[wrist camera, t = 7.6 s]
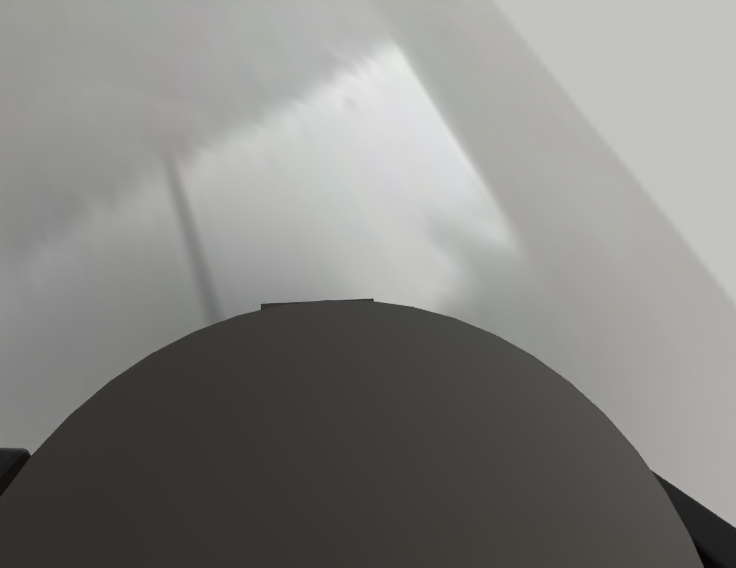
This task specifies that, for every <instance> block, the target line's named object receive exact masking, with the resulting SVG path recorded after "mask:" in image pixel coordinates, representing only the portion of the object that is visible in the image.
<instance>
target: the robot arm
mask: <svg viewBox="0 0 736 568" xmlns="http://www.w3.org/2000/svg"><path fill="white" fill-rule="evenodd" d="M30 457H31V455H30V453H29V451H28V450H26V449H23V448H0V497H1V496H2V494H3V493H4V492H5V490H6V489H7V488H8V486H9V485H10V484H11V482H12V481H13V480H14V478H15V477H16V476H17V474H18V473H19V472H20V470H21V469H22V468H23V466H24V465H25V464H26V462H27V461H28V460H29V458H30ZM652 473H653V474H654V476H655V477H656V479H657V480H658V481H659V483H660V484H661V486H662V487H663V489H664V490H665V491H666V493H667V495H668V497H669V499H670V500H671V502H672V504H673V506H674V508H675V509H676V511H677V513H678V515H679V517H680V518H681V520H682V522H683V524H684V526H685V527H686V529H687V531H688V533H689V535H690V536H691V538H692V541H693V543H694V546H695V548H696V550H697V553H698V555H699V557H700V560H701V562H702V564H703V567H704V568H736V528H735V527H733V526H732V525H730V524H729V523H728V522H726V521H725V520H723V519H722V518H720V517H719V516H717V515H716V514H714V513H713V512H711V511H710V510H709V509H707V508H706V507H704V506H703V505H701V504H700V503H698V502H697V501H695V500H694V499H692V498H691V497H689V496H688V495H687V494H685V493H684V492H682V491H681V490H679V489H678V488H676V487H675V486H673V485H672V484H670V483H669V482H668V481H666V480H665V479H663V478H662V477H660V476H659V475H657V474H656V473H654V472H653V471H652Z"/></svg>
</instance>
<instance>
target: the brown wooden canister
mask: <svg viewBox="0 0 736 568" xmlns="http://www.w3.org/2000/svg"><path fill="white" fill-rule="evenodd" d="M0 568H704V567H703V564H702V562H701V560H700V557H699V555H698V553H697V550H696V548H695V546H694V543H693V541H692V538H691V536H690V535H689V533H688V531H687V529H686V527H685V526H684V524H683V522H682V520H681V518H680V517H679V515H678V513H677V511H676V509H675V508H674V506H673V504H672V502H671V500H670V499H669V497H668V495H667V493H666V491H665V490H664V489H663V487H662V486H661V484H660V483H659V481H658V480H657V479H656V477H655V476H654V474H653V473H652V471H651V470H650V469H649V467H648V466H647V464H646V463H645V461H644V460H643V459H642V457H641V456H640V454H639V453H638V452H637V450H636V449H635V448H634V447H633V446H632V444H631V443H630V442H629V441H628V440H627V439H626V438H625V436H624V435H623V434H622V433H621V432H620V431H619V430H618V429H617V427H616V426H615V425H614V424H613V423H612V422H611V421H610V419H609V418H608V417H607V416H606V415H605V414H604V413H603V412H602V411H601V410H600V409H599V408H598V407H597V406H595V405H594V404H593V403H592V402H591V401H590V400H589V399H588V398H587V397H585V396H584V395H583V394H582V393H581V392H580V391H579V390H578V389H577V388H576V387H574V386H573V385H572V384H571V383H570V382H569V381H567V380H566V379H565V378H563V377H562V376H560V375H559V374H558V373H556V372H555V371H553V370H552V369H551V368H549V367H548V366H546V365H545V364H544V363H542V362H541V361H539V360H538V359H537V358H535V357H534V356H532V355H531V354H529V353H527V352H525V351H523V350H522V349H520V348H518V347H516V346H514V345H512V344H511V343H509V342H507V341H505V340H503V339H502V338H500V337H498V336H496V335H494V334H492V333H489V332H487V331H485V330H482V329H480V328H477V327H475V326H472V325H470V324H467V323H465V322H462V321H460V320H457V319H455V318H452V317H448V316H444V315H441V314H437V313H433V312H429V311H426V310H422V309H418V308H415V307H409V306H402V305H395V304H388V303H381V302H374V300H373V299H356V300H324V301H313V302H292V303H270V304H261V310H259V311H255V312H251V313H247V314H243V315H238V316H236V317H233V318H230V319H228V320H225V321H222V322H219V323H217V324H214V325H211V326H209V327H206V328H203V329H200V330H198V331H195V332H193V333H191V334H189V335H187V336H185V337H183V338H181V339H179V340H177V341H175V342H173V343H171V344H169V345H167V346H166V347H164V348H162V349H160V350H158V351H156V352H154V353H152V354H150V355H149V356H147V357H146V358H144V359H143V360H141V361H140V362H138V363H137V364H135V365H134V366H132V367H131V368H129V369H128V370H126V371H125V372H123V373H122V374H120V375H119V376H117V377H116V378H114V379H113V380H111V381H110V382H109V383H107V384H106V385H105V386H104V387H103V388H102V389H100V390H99V391H98V392H97V393H96V394H94V395H93V396H92V397H91V398H90V399H89V400H87V401H86V402H85V403H84V404H83V405H81V406H80V407H79V408H78V409H77V410H76V411H74V412H73V413H72V414H71V415H70V416H69V417H68V418H67V419H66V420H65V421H64V422H63V423H62V424H61V425H60V426H59V427H58V428H57V429H56V430H55V432H54V433H53V434H52V435H51V436H50V437H49V438H48V439H47V440H46V441H45V442H44V443H43V444H42V445H41V446H40V447H39V448H38V450H37V451H36V452H35V453H34V454H33V455H32V456H31V457H30V458H29V460H28V461H27V462H26V464H25V465H24V466H23V468H22V469H21V470H20V472H19V473H18V474H17V476H16V477H15V478H14V480H13V481H12V482H11V484H10V485H9V486H8V488H7V489H6V490H5V492H4V493H3V494H2V496H1V497H0Z"/></svg>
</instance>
